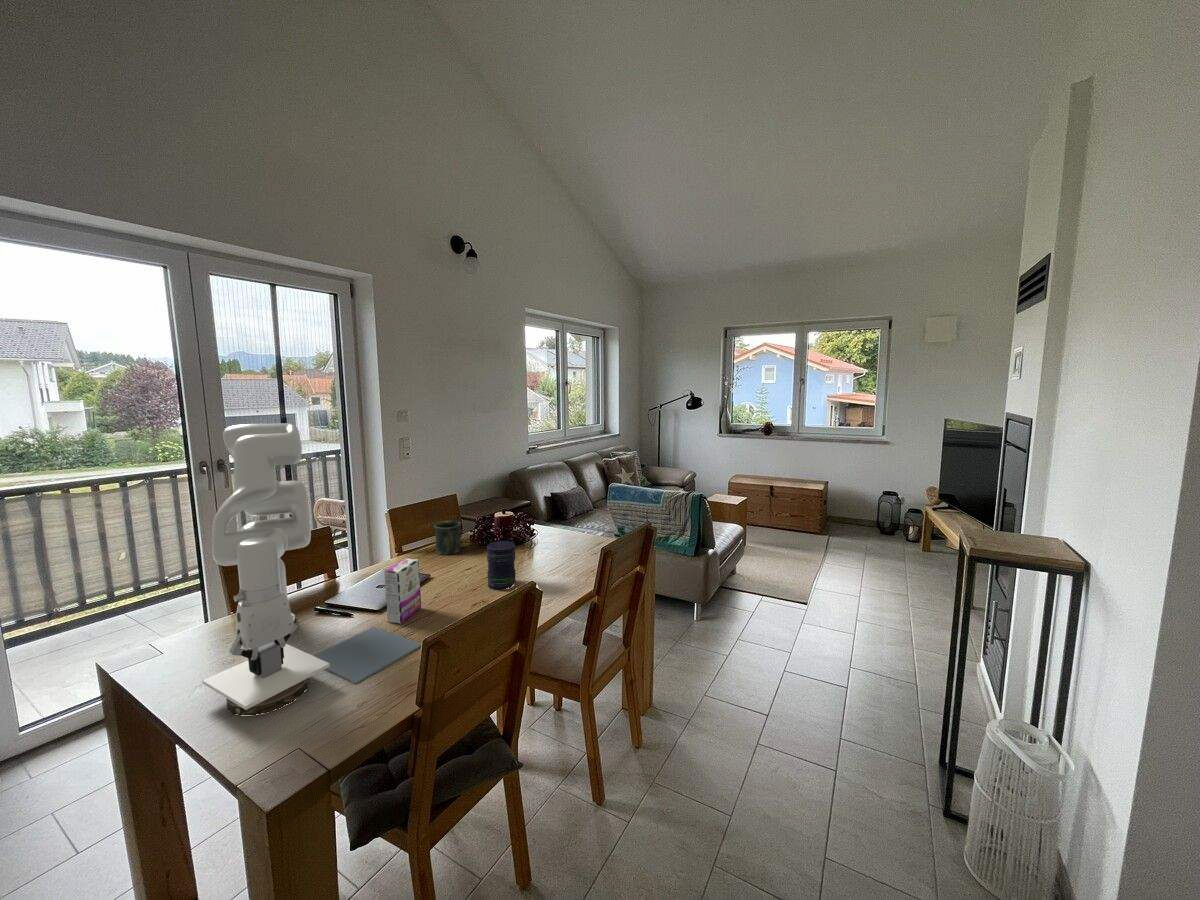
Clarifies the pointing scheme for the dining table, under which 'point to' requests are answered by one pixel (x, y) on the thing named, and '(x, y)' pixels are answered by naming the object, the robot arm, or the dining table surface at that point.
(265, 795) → the dining table surface
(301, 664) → the lid
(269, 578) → the robot arm
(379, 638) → the mat
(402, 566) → the candy bar box
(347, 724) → the dining table surface
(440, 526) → the mug
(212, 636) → the dining table surface
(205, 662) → the dining table surface
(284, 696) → the cork trivet
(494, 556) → the storage jar
